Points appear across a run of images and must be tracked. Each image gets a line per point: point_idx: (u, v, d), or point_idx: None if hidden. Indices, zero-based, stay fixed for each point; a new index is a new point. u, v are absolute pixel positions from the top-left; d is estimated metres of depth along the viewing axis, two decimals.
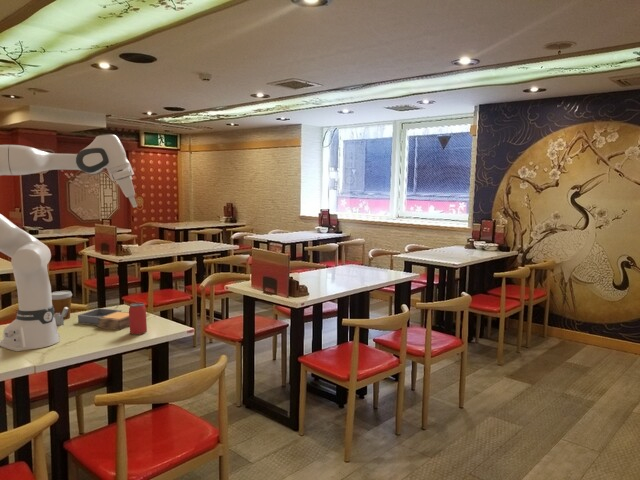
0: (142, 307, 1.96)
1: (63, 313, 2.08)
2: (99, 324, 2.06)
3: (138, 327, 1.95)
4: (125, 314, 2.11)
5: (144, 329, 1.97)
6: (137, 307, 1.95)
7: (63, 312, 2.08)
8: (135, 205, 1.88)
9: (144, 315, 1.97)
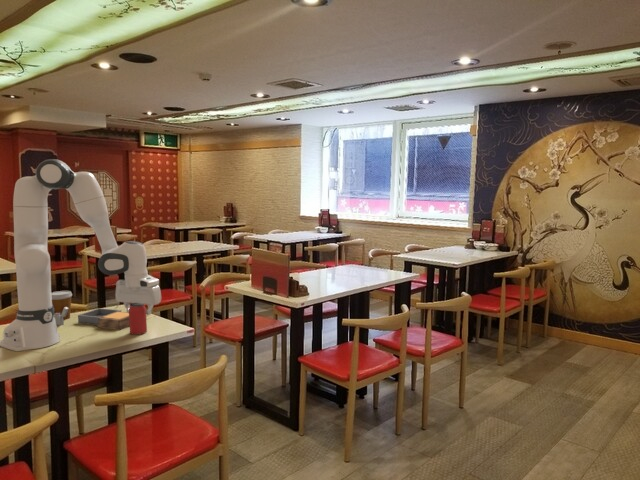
0: (142, 307, 1.96)
1: (63, 313, 2.08)
2: (99, 324, 2.06)
3: (138, 327, 1.95)
4: (125, 314, 2.11)
5: (144, 329, 1.97)
6: (137, 307, 1.95)
7: (64, 312, 2.08)
8: (150, 312, 1.96)
9: (144, 315, 1.97)
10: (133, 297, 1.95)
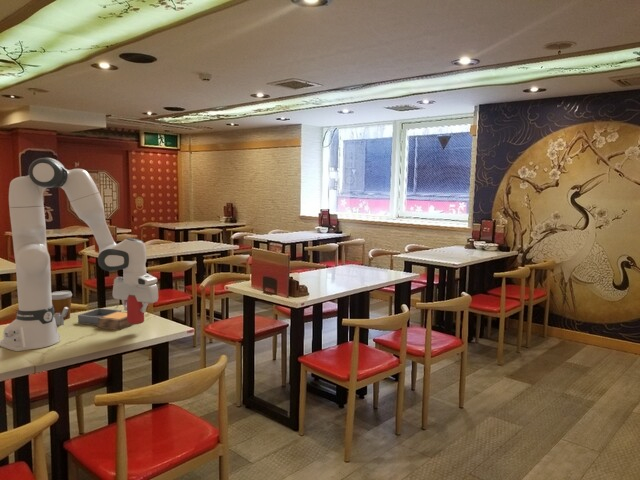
0: None
1: (63, 313, 2.08)
2: (99, 324, 2.06)
3: (136, 316, 1.94)
4: (125, 314, 2.11)
5: (141, 319, 1.96)
6: None
7: (64, 312, 2.08)
8: (145, 310, 1.95)
9: (142, 305, 1.96)
10: (130, 294, 1.95)
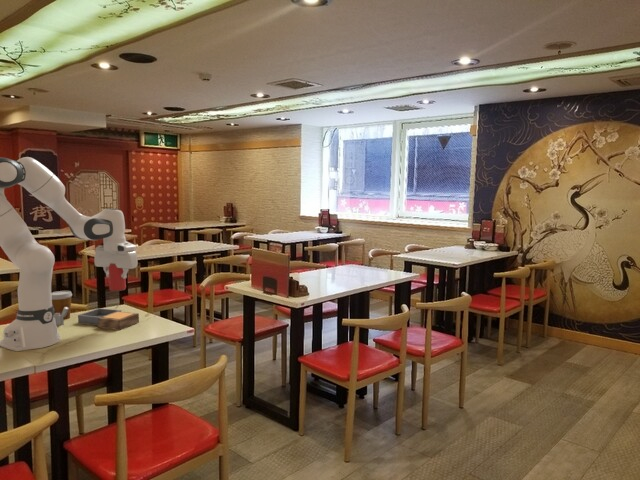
0: None
1: (63, 313, 2.08)
2: (99, 324, 2.06)
3: (117, 283, 2.05)
4: (125, 314, 2.11)
5: (123, 286, 2.07)
6: None
7: (64, 312, 2.08)
8: (125, 276, 2.06)
9: None
10: (111, 261, 2.05)
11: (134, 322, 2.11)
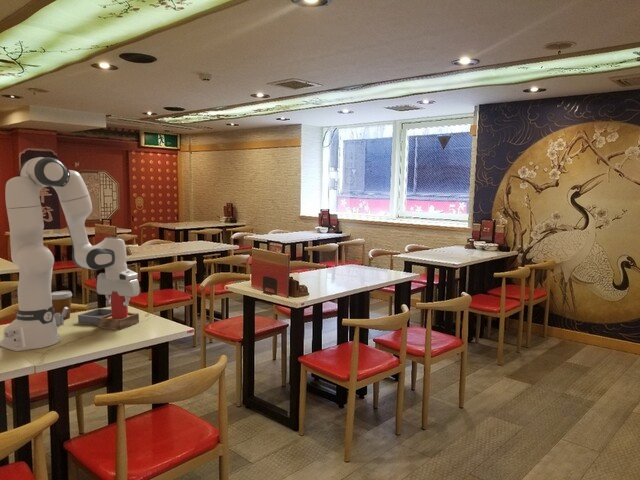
0: None
1: (63, 313, 2.08)
2: (99, 324, 2.06)
3: (119, 311, 2.07)
4: None
5: (125, 313, 2.09)
6: None
7: (64, 312, 2.08)
8: (127, 304, 2.08)
9: None
10: (113, 289, 2.07)
11: (134, 322, 2.11)
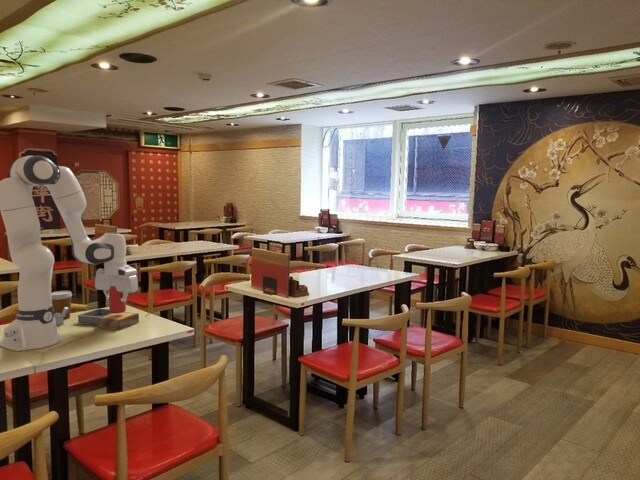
0: None
1: (63, 313, 2.08)
2: (99, 324, 2.06)
3: (117, 306, 2.06)
4: (125, 314, 2.11)
5: (123, 308, 2.08)
6: None
7: (64, 312, 2.08)
8: (125, 300, 2.07)
9: (123, 295, 2.07)
10: (111, 285, 2.06)
11: (134, 322, 2.11)
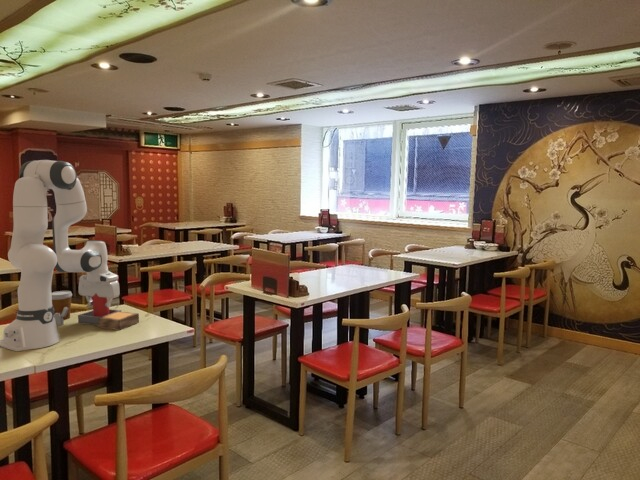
0: None
1: (63, 313, 2.08)
2: (99, 324, 2.06)
3: (101, 312, 2.14)
4: (125, 314, 2.11)
5: (106, 314, 2.16)
6: None
7: (64, 312, 2.08)
8: (109, 305, 2.14)
9: (106, 302, 2.16)
10: (94, 291, 2.14)
11: (134, 322, 2.11)
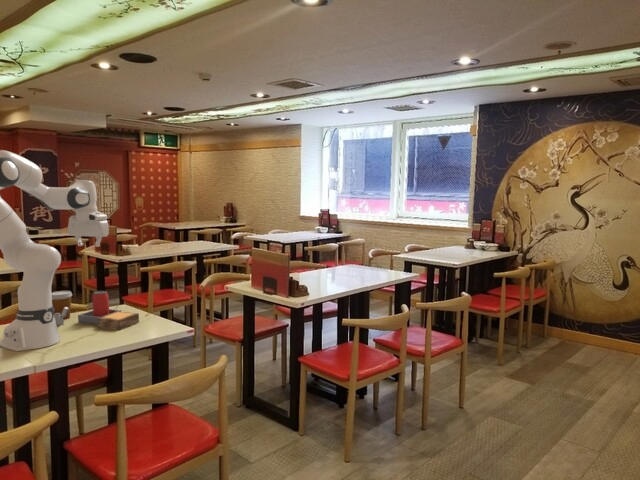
0: (105, 294, 2.15)
1: (63, 313, 2.08)
2: (99, 324, 2.06)
3: (101, 312, 2.14)
4: (125, 314, 2.11)
5: (106, 314, 2.16)
6: (100, 294, 2.14)
7: (64, 312, 2.08)
8: (98, 245, 2.16)
9: (106, 302, 2.16)
10: (83, 230, 2.16)
11: (134, 322, 2.11)
